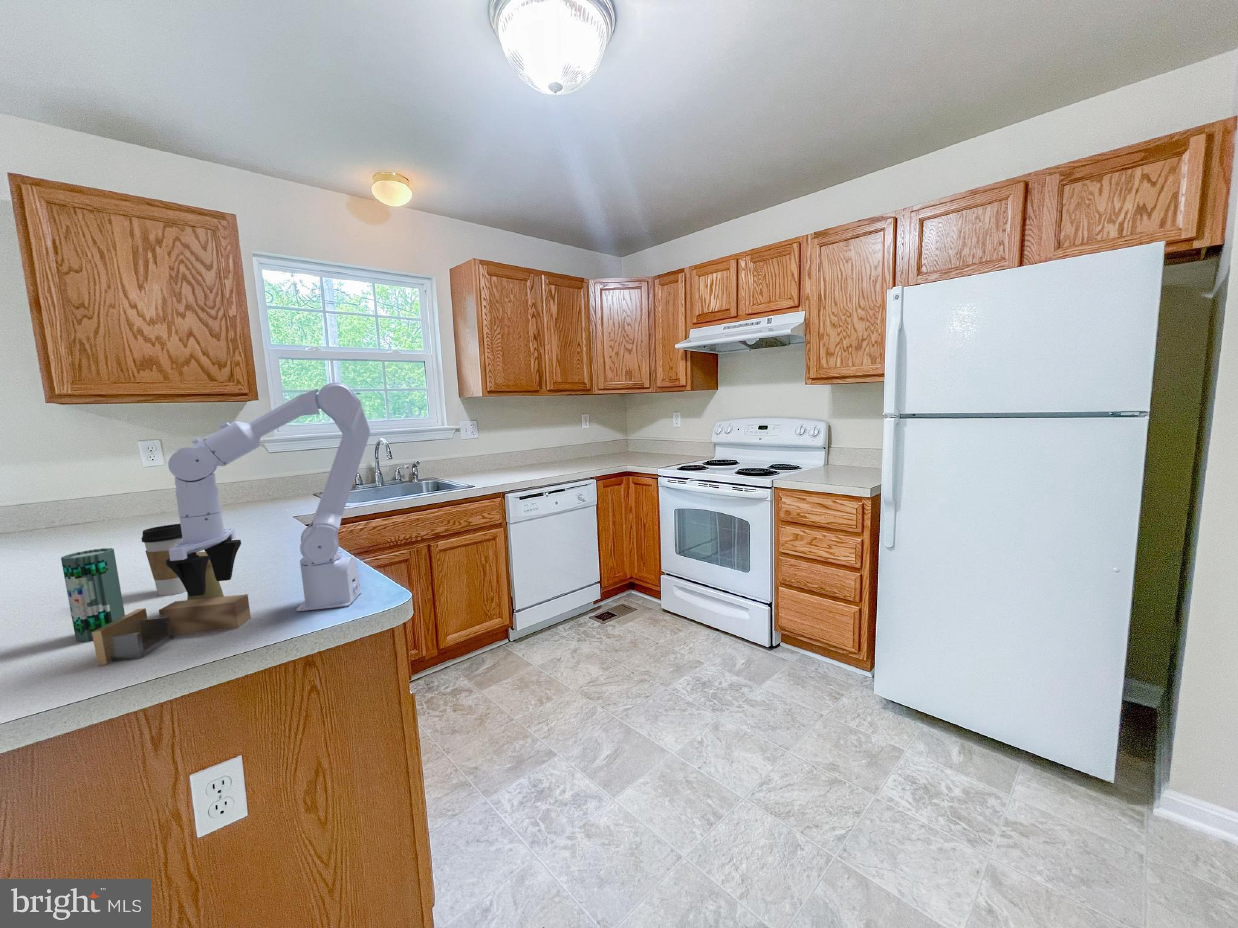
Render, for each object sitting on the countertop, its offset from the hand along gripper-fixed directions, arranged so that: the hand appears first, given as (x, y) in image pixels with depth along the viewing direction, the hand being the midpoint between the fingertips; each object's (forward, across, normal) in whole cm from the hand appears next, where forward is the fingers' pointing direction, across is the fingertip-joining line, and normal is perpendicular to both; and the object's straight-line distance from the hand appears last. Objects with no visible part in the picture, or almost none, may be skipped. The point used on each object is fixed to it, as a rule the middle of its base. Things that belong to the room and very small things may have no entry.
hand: (211, 587), depth 88 cm
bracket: (+7, +7, -8) cm, 13 cm away
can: (+8, -2, -20) cm, 21 cm away
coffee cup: (+8, -24, -22) cm, 34 cm away
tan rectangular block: (+8, 0, -1) cm, 8 cm away
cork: (+8, -12, -9) cm, 17 cm away
